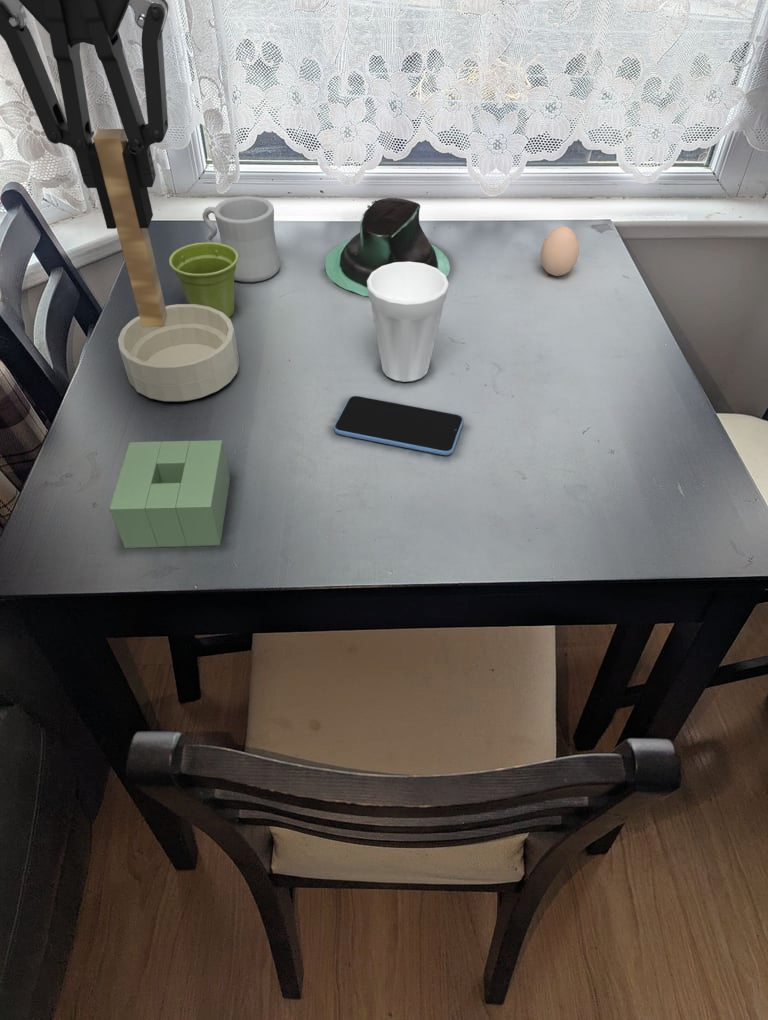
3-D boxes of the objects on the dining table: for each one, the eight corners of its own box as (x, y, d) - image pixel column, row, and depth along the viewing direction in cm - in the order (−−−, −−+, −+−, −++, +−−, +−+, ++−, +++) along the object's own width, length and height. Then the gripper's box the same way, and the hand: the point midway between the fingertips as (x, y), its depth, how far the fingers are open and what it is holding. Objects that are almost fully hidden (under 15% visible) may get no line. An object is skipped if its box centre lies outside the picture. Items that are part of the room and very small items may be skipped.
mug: (291, 263, 118) (285, 201, 111) (262, 289, 112) (254, 226, 105) (225, 247, 121) (215, 187, 114) (194, 273, 116) (182, 211, 108)
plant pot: (210, 289, 112) (200, 235, 106) (258, 307, 109) (251, 252, 102) (167, 318, 107) (154, 262, 100) (217, 337, 103) (207, 281, 97)
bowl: (158, 421, 91) (147, 381, 86) (112, 365, 98) (100, 327, 94) (259, 379, 97) (253, 340, 92) (208, 330, 104) (201, 292, 100)
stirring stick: (142, 327, 73) (92, 138, 60) (145, 315, 75) (98, 128, 62) (164, 327, 74) (119, 138, 61) (167, 315, 75) (124, 128, 62)
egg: (578, 282, 114) (588, 235, 109) (543, 284, 114) (551, 237, 108) (567, 263, 118) (577, 218, 113) (533, 266, 118) (540, 220, 112)
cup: (364, 391, 95) (363, 301, 85) (371, 347, 102) (370, 259, 92) (441, 394, 94) (448, 304, 85) (442, 350, 101) (449, 262, 92)
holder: (124, 548, 76) (108, 509, 72) (142, 481, 83) (129, 441, 79) (220, 545, 77) (210, 506, 72) (230, 479, 84) (222, 439, 79)
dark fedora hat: (447, 299, 109) (315, 296, 110) (448, 296, 126) (334, 293, 128) (453, 190, 104) (314, 188, 106) (453, 203, 122) (334, 201, 123)
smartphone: (350, 393, 93) (465, 414, 90) (350, 398, 94) (464, 420, 91) (331, 429, 88) (452, 452, 85) (331, 434, 89) (451, 458, 86)
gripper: (169, -122, 53) (218, 203, 70) (-48, -124, 52) (55, 204, 69) (152, -107, 47) (210, 239, 64) (-89, -110, 47) (34, 242, 64)
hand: (130, 221), depth 67 cm, fingers closed on stirring stick, 2 cm apart
